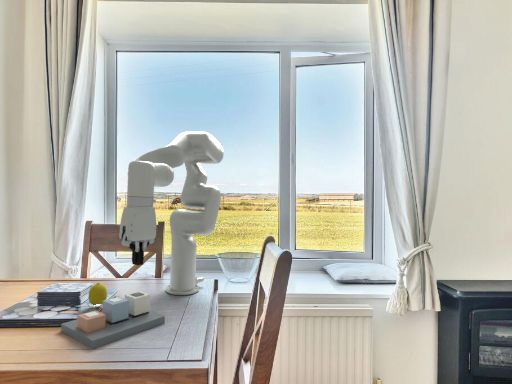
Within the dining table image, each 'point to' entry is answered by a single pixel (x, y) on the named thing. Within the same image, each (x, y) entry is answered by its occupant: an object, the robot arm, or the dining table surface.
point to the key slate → (115, 309)
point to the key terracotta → (91, 321)
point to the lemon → (97, 294)
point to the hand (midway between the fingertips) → (137, 264)
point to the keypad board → (113, 329)
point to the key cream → (138, 303)
